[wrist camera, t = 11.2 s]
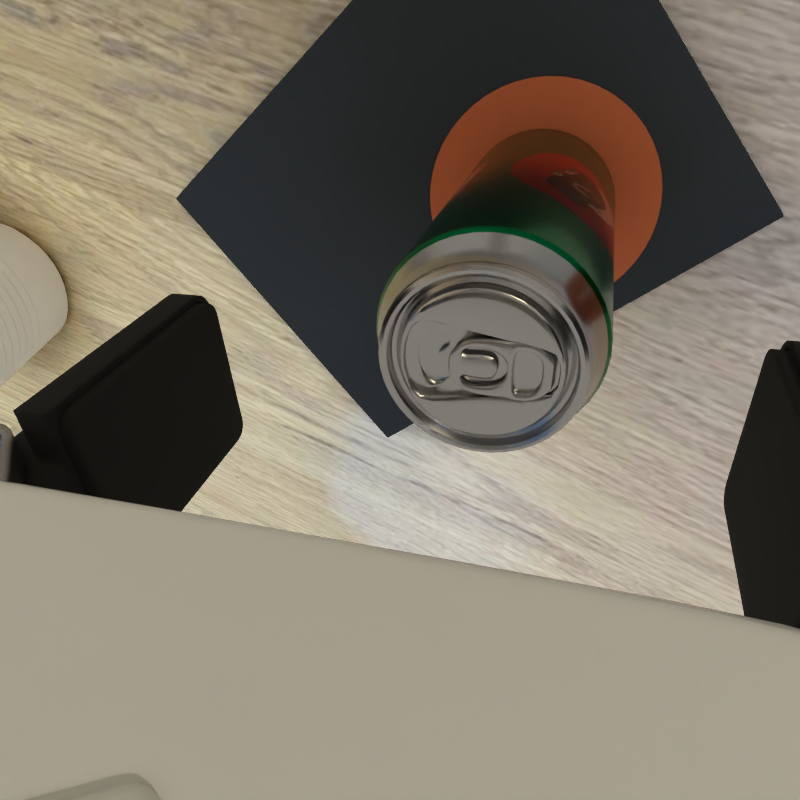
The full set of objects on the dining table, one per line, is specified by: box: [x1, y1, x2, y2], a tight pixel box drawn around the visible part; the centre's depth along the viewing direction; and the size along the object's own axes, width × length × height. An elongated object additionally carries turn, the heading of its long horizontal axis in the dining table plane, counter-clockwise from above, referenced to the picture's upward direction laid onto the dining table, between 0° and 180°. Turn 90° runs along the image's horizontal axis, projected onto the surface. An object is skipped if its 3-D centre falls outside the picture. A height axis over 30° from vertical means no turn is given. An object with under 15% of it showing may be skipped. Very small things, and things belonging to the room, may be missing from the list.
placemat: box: [176, 0, 783, 437], centre depth 24 cm, size 18×14×1 cm
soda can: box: [376, 129, 615, 452], centre depth 18 cm, size 5×5×12 cm
